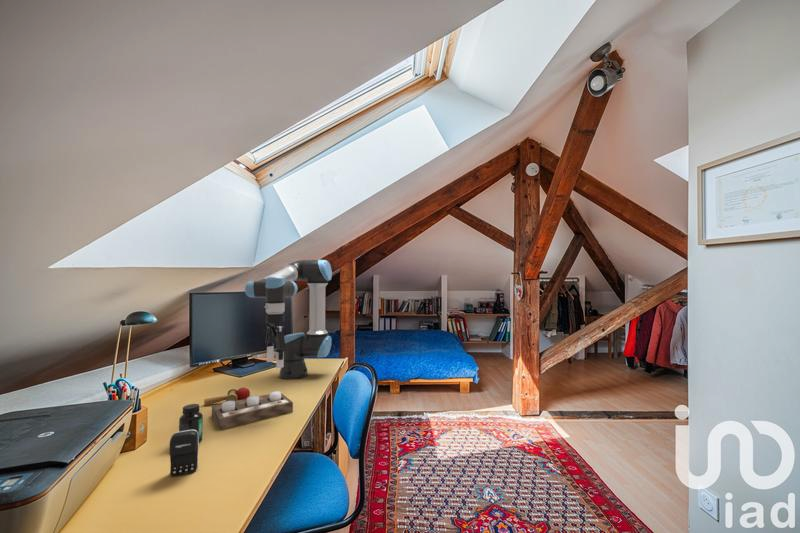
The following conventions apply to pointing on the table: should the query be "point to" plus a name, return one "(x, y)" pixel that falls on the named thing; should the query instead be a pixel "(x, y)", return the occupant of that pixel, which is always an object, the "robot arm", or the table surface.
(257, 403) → the button middle
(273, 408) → the button board
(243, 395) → the kendama
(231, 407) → the button
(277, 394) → the button
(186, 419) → the supplement bottle
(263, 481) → the table surface
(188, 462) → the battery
